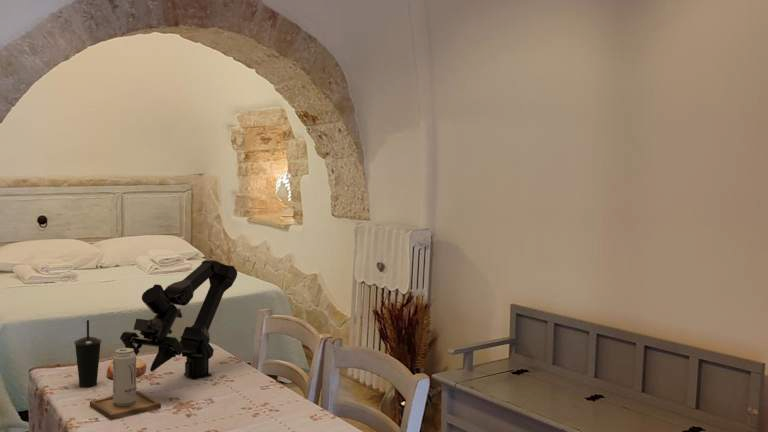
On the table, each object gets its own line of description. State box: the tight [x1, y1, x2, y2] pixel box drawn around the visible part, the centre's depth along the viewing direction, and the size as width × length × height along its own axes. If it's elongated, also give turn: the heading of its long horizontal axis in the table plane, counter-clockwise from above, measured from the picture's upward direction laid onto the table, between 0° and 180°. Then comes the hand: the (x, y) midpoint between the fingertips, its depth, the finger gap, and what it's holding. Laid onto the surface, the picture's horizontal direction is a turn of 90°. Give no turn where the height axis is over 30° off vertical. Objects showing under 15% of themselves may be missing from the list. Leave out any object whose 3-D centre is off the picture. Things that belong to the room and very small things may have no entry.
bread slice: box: [106, 358, 147, 380], centre depth 228 cm, size 18×18×4 cm
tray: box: [89, 390, 162, 421], centre depth 193 cm, size 14×14×2 cm
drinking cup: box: [73, 319, 102, 389], centre depth 211 cm, size 8×8×20 cm
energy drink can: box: [112, 347, 137, 406], centre depth 193 cm, size 6×6×15 cm
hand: (137, 369), depth 197 cm, fingers open, 9 cm apart
